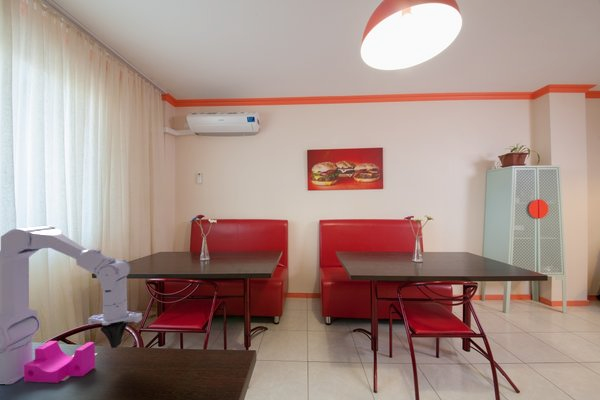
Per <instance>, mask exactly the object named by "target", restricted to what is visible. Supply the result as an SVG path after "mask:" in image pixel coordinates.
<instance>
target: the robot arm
mask: <svg viewBox="0 0 600 400" xmlns="http://www.w3.org/2000/svg"><path fill="white" fill-rule="evenodd" d="M41 249H51V250H54V251H57V252H59V253H61V254H64V255H66V256H68V257H70V258H73V259H75V260H76V265H77V266H78V267H80V268H81V269H84V270H85V271H88V272H89V273H92V274H93V275H95V276H96V280H97V281H98V282H99V284H100V289H101V290H102V313H100V314H93V315H92V316H90V317H89V318H87V324H88V325H89V326H92V325H94V324H101V325H102V327H100V331H101V332H102V333H103V334H104V335H105V336H106V338H107V340H108V343H109V345H110V348H111V349H115V348H116V349H117V348H118V347H119V346H120V345H121V344H122V339H123V336H124V333H125V330H126V328H127V326H128V324H129V323H132V322H134V323H135V324H136V323H140V321H142V320H143V313H142V312H133V311H129V310H128V297H127V296H128V295H127V294H128V291H127V290H128V287H127V286H128V285H127V284H128V283H127V276H129V274H130V272H131V270H132V267H131V265H130V262H128V261H127V260H125V259H121V258H120V259H117V258H115V257H111V256H109V255H107V254H105V253H103V252H102V250H101V249H100V248H90V249H86V248H85V247H84V246H81V245H80V244H79V243H78V242H76V241H74V240H72V239H71V238H70V237H67V236H66V235H64V234H63V231H62V230H61V229H58V228H56V227H55V226H53V225H49V224H48V225H42V226H33V227H26V228H25V227H24V228H13V229H11V230H8V231H7V232H5V233H3V235H1V236H0V384H5V385H13V384H15V383H16V382H17V381H19V380H21V379H22V378H24V365H25V364H27V363H29V362H31V361H32V360H34V343H33V342H34V338H35V337H36V333H37V332H38V331H39V330H40V329H41V326H42V325H41V320H40V318H39V316H38V310H36V309H33V308H30V257H31V256H32V255H34V254H35V253H36V252H38V251H40V250H41Z"/></svg>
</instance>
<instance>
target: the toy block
mask: <svg viewBox="0 0 600 400" xmlns="http://www.w3.org/2000/svg"><path fill="white" fill-rule="evenodd" d="M95 343H96V342H95V341H88V342H86V343H85V344H83V345H81V346H80V347H78V348H76V349H75V351H74V354H73V355H74V357H72V356H73V355H68V354H66V353H65V352H64V351H63V350H62V348H61V347H60V345H59V341H58V340H49V341H47V342H45V343H43V344H42V345H39V346H37V347H35V348H34V358H33V360H32V361H31V362H29V363H27V364H25V365H24V377H23V381H24V382H31V383H32V382H33V383H34V382H35V383H36V382H37V383H52V384H53V383H55V384H56V383H58V384H59V382H61V380H62V379H64V378H65V377H66V376H70V377H84V376H86V374H88V373H89V372H90V371H92V370H93V369H94V368H96V356H95V352H96V347H95V346H96V345H95Z"/></svg>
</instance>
